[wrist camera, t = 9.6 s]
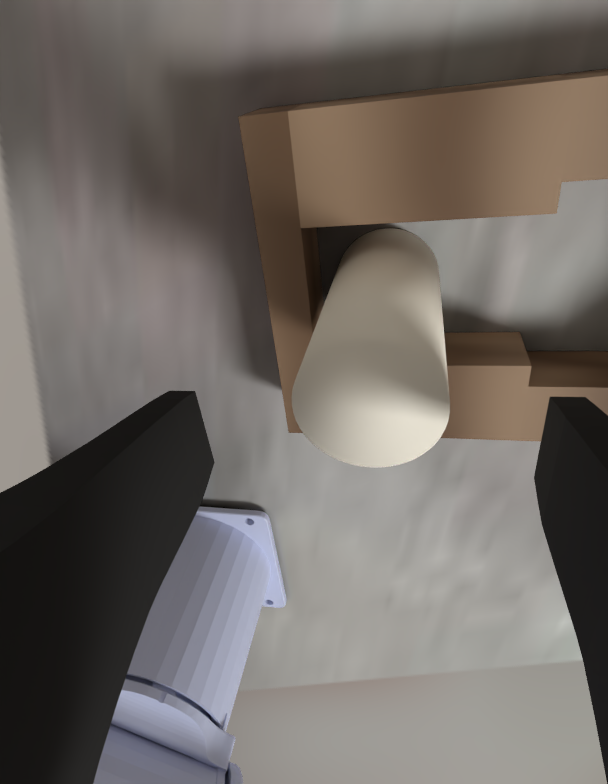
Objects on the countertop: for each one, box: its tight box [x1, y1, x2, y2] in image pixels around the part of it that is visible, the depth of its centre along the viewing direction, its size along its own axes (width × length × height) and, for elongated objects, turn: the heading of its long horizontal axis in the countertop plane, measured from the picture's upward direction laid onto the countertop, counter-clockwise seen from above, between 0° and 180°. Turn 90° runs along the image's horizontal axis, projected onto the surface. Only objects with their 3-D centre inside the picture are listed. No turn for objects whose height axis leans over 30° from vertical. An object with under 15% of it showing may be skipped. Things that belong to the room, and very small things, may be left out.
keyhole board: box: [238, 69, 608, 441], centre depth 16 cm, size 16×11×2 cm
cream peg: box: [292, 228, 450, 468], centre depth 15 cm, size 4×4×8 cm
